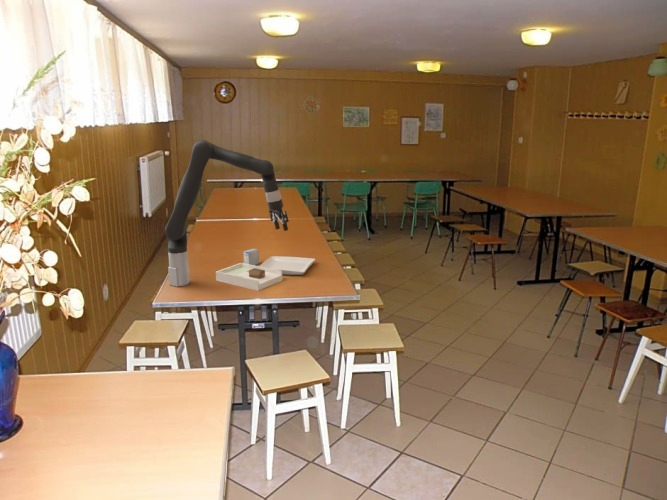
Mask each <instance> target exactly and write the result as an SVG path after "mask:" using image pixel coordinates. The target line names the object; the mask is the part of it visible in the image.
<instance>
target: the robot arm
mask: <svg viewBox="0 0 667 500" xmlns="http://www.w3.org/2000/svg"><path fill="white" fill-rule="evenodd" d="M209 160H216V161H220V162H223V163H226V164H229V165H230V166H234V167H236V168H239V169H243V170H246V171H251V172H254V173H256V174H259V175H260V176H261V179H262V182H263V183H262V185H263V188H264V189H263V190H264V192H265V199H266V203H267V207H268V214H269V216H270V217H269V218H270V221H271V222H272V223H273V224H274V228H275V230H279V229H281V228H280V223H281V225H282V229H283V231H284V232H287V231H288V230H289V227H288V224H287V223H289V222H290V221H289V217H288V213H287V211H286V210H283V208H284V202H283V199H282V194H281V192H280V189H279V183H278V181H277V180H276V175H275V170H274V165H273V163H272V162H271V161H269V160H267V159H261V158H260V159H259V158H256V157H254V156H252V155H248V154H245V153H241V152H237V151H233V150H229V149H226V148H223V147H220V146H218V145H216V144H213V143H212V142H210V141H209V140H205V139H200V140H198V141H196V142H195V143H194V144H193V146H192V151H191V156H190V159H189V164H188V167H187V170H186V172H185V173H184V175H183V178H182V180H181V182H180V185H179V187H178V191H177V195H176V199H175V202H174V206H173V211H172V213H171V215H170V217H169V220H168V222H167V224H166V226H165V228H164V232H165V236H166V238H167V239H168V243H167V244H168V245H167V252H168V253H167V254H168V265H169V266H168V267H167V270H168V274H167V275H168V282H169V285H170V286H172V287H176V288H177V287H184V286H188V285H189V284H190V283H191V282H190V281H191V280H190V271H189V259H188V235H187V234H188V233H187V232H188V231H187V225H186V222H187V219H188V216H189V214H190V212H191V211H192V208H193V206H194V205H195V203H196V201H197V198H198V194H199V193H200V188H201V185H202V181H203V175H204V171H205V168H206V166H207V164H208V162H209ZM279 221H280V223H279Z"/></svg>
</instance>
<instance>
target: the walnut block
mask: <svg viewBox="0 0 667 500" xmlns="http://www.w3.org/2000/svg"><path fill="white" fill-rule="evenodd" d="M249 277H252V278H257V279H261V278H263V277H265V270H261V269H256V268H254V269H251V270H249Z"/></svg>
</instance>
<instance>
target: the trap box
mask: <svg viewBox="0 0 667 500" xmlns="http://www.w3.org/2000/svg"><path fill="white" fill-rule="evenodd" d="M254 268H256V269H261V270H265V277H263V278H261V279H257V278H252V277H249V270H251V269H254ZM283 279H284V278H283V274H282V271H279V270H274V269H269V268H264V267H260V265H250V264H245V263H244V262H239V263H236V264H234V265H230V266H228V267H225V268H222V269H219V270H216V271H215V281H216V282H220V283H225V284H228V285H233V286H236V287H241V288H245V289H250V290H253V291H257V292H259V291H261V290H264V289H265V288H268V287H270V286H273V285H275V284H277V283H280V282H282V281H283Z"/></svg>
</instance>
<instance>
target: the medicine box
mask: <svg viewBox="0 0 667 500" xmlns="http://www.w3.org/2000/svg"><path fill="white" fill-rule="evenodd" d="M259 252H260V251H259V249H257V248H251V249H248V250H244V251H243V253H242V254H243V263H245V264H250V265H255V266H258V265H259V264H260V255H259V254H260V253H259Z"/></svg>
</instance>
